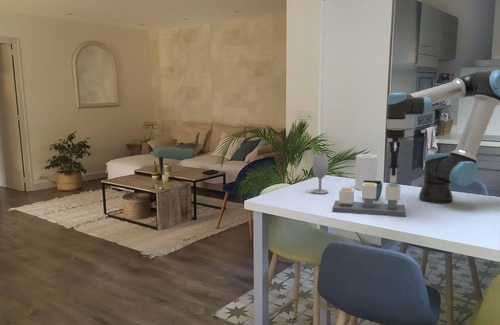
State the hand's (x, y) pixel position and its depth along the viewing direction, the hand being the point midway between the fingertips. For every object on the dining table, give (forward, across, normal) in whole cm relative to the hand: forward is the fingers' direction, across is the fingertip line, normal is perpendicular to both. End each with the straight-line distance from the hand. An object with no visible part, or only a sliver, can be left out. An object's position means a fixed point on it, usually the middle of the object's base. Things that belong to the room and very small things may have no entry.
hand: (393, 182), depth 189 cm
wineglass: (+14, -29, -36) cm, 48 cm away
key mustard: (+7, 0, -10) cm, 12 cm away
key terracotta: (+10, 0, -20) cm, 22 cm away
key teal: (+7, 0, 0) cm, 7 cm away
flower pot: (+14, -20, -9) cm, 26 cm away
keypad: (+14, 0, -10) cm, 17 cm away
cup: (+14, -44, -13) cm, 48 cm away
